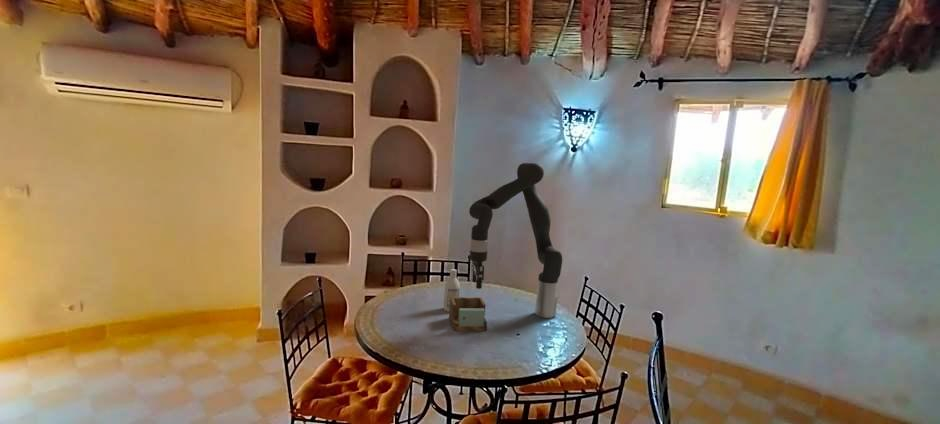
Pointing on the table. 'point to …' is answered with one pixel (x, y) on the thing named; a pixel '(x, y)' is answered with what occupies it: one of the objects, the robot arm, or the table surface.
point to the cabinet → (465, 303)
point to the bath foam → (451, 289)
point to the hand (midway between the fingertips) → (476, 285)
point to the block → (471, 317)
